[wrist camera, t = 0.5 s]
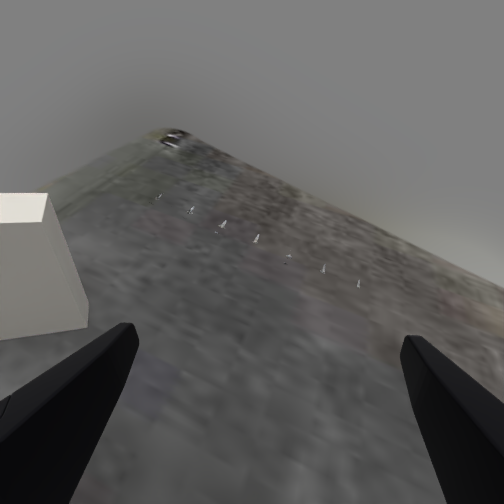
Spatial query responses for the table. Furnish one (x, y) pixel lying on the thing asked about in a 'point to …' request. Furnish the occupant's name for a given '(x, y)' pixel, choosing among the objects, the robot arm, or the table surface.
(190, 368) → the table surface
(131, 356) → the robot arm
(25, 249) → the tile
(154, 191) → the table surface
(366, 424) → the table surface
